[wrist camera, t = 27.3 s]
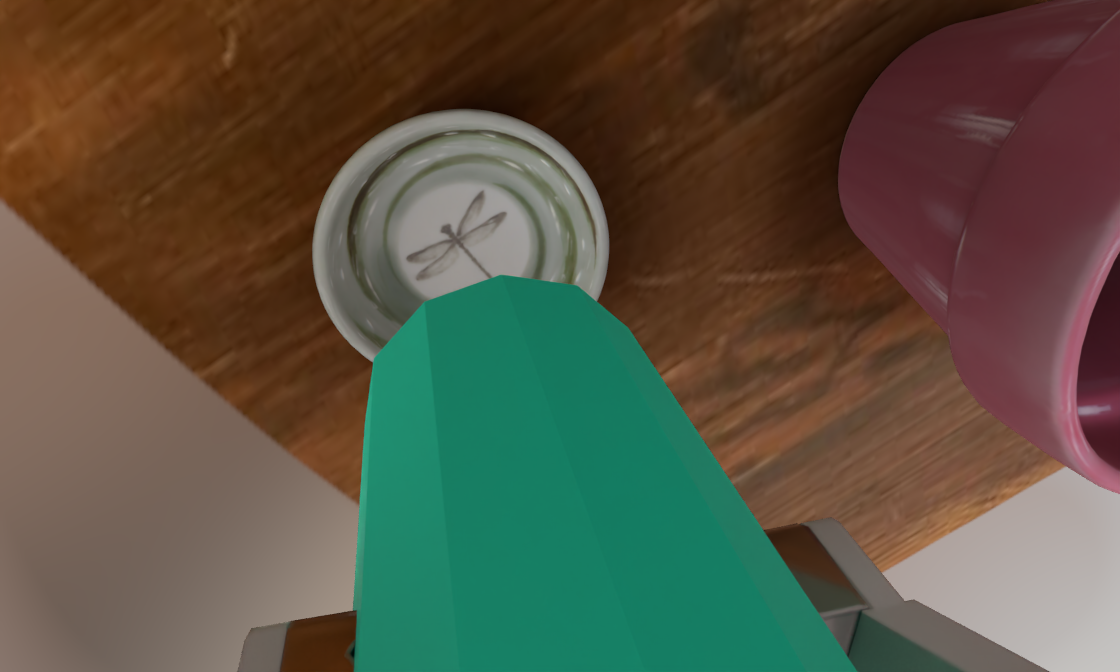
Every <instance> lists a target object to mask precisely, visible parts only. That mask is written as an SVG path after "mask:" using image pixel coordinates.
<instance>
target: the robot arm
mask: <svg viewBox="0 0 1120 672" xmlns="http://www.w3.org/2000/svg"><path fill="white" fill-rule="evenodd" d="M763 531H764V532H765V534H766V535H767V537H768V538H769V540H770V541H771V543H772V544H773V546H774V547H775V549H776V550H777V552H778V553H779V555H780V556H781V558H782V559H783V561H784V562H785V564H786V565H787V567H788V568H789V570H790V571H791V573H792V574H793V576H794V577H795V579H796V580H797V582H798V583H799V585H800V586H801V588H802V589H803V591H804V592H805V594H806V595H807V597H808V598H809V600H810V601H811V603H812V604H813V606H814V607H815V609H816V610H817V612H818V613H819V615H820V616H821V618H822V619H823V621H824V622H825V624H826V625H827V627H828V628H829V630H830V631H831V633H832V634H833V636H834V637H835V639H836V640H837V642H838V643H839V645H840V646H841V648H842V649H843V651H844V652H845V654H846V655H847V657H848V658H849V660H850V661H851V663H852V664H853V666H854V667H855V669H856V670H857V672H1049V671H1047V670H1045V669H1043V668H1042V667H1040V666H1038V665H1036V664H1034V663H1032V662H1030V661H1028V660H1027V659H1025V658H1023V657H1021V656H1019V655H1017V654H1015V653H1013V652H1012V651H1010V650H1008V649H1006V648H1004V647H1002V646H1000V645H998V644H996V643H995V642H993V641H991V640H989V639H987V638H985V637H983V636H982V635H980V634H978V633H976V632H974V631H972V630H970V629H968V628H966V627H965V626H963V625H961V624H959V623H957V622H955V621H953V620H951V619H950V618H948V617H946V616H944V615H942V614H940V613H938V612H936V611H935V610H933V609H931V608H929V607H927V606H925V605H923V604H921V603H919V602H918V601H915V600H909V601H904V600H903V598H902V597H901V596H900V595H899V594H898V592H897V591H896V590H895V589H894V588H893V586H892V585H891V584H890V583H889V581H888V580H887V579H886V578H885V577H884V575H883V574H882V573H881V572H880V571H879V569H878V568H877V567H876V566H875V564H874V563H873V562H872V561H871V560H870V558H869V557H868V556H867V555H866V554H865V552H864V551H863V550H862V549H861V548H860V546H859V545H858V544H857V543H856V542H855V540H854V539H853V538H852V537H851V535H850V534H849V533H848V532H847V531H846V529H845V528H844V527H843V526H842V525H841V523H840V522H839V521H837V520H835V519H834V518H832V517H830V518H825V519H820V520H815V521H810V522H805V523H801V524H797V523H796V524H792V525H787V526H782V527H777V528H772V529H767V530H763ZM356 624H357V610H354V611H348V612H342V613H337V614H330V615H324V616H318V617H312V618H306V619H300V620H295V621H290V622H284V623H279V624H273V625H268V626H262V627H256V628H251V630H250V632H249V634H248V635H247V637H246V639H245V641H244V645H243V650H242V654H241V658H240V663H239V667H238V671H237V672H354V651H355V642H356Z"/></svg>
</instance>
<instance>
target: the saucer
mask: <svg viewBox="0 0 1120 672" xmlns="http://www.w3.org/2000/svg"><path fill="white" fill-rule="evenodd" d="M312 257H313V269H314V276H315V280H316V285H317V289H318V292H319V295H320V298H321V300H322V303H323V305H324V307H325V309H326V311H327V313H328V315H329V317H330V318H331V320H332V322H333V323H334V325H335V326H336V328H337V329H338V330H339V332H340V333H341V334H342V335H343V337H344V338H345V339H346V340H347V341H348V342H349V343H350V344H351V345H352V346H353V347H354V348H355V349H356V350H357V351H358V352H360V353H361V354H362V355H363V356H365V357H366V358H367V359H369V360H370V361H372V362H373V361H374V358H375V356H376V355H377V354H378V353H379V352H380V351H381V350H382V349H383V348H384V346H385V345H386V344H387V343H388V342H389V341H390V340H391V339H392V337H393V336H394V335H395V334H396V333H397V332H398V331H399V330H400V328H401V327H402V326H403V325H404V324H405V323H406V322H407V321H408V319H409V318H410V317H411V316H412V315H413V314H414V313H415V312H416V311H417V309H418V308H419V307H420V306H421V305H422V304H423V303H424V302H425V301H428V300H430V299H433V298H436V297H439V296H442V295H445V294H447V293H450V292H453V291H456V290H459V289H461V288H464V287H467V286H470V285H473V284H476V283H478V282H481V281H484V280H487V279H490V278H492V277H495V276H498V275H501V274H502V275H509V276H516V277H523V278H530V279H537V280H544V281H550V282H557V283H564V284H571V285H577V286H579V287H580V288H581V289H582V290H583V291H585V292H586V293H587V294H588V295H589V296H591V297H592V298H593V299H594V300H595V301H597V300H598V298H599V296H600V294H601V290H602V288H603V285H604V281H605V277H606V273H607V268H608V259H609V232H608V226H607V220H606V216H605V212H604V208H603V205H602V202H601V200H600V197H599V195H598V193H597V190H596V188H595V186H594V184H593V182H592V181H591V179H590V177H589V176H588V174H587V173H586V171H585V170H584V168H583V167H582V166H581V164H580V163H579V162H578V161H577V160H576V158H575V157H574V156H573V155H572V154H571V153H570V152H569V151H568V150H567V149H566V148H565V147H564V146H563V145H561V144H560V143H559V142H558V141H556V140H555V139H554V138H552V137H551V136H549V135H548V134H547V133H545V132H543V131H542V130H540V129H538V128H536V127H535V126H533V125H531V124H529V123H526V122H524V121H522V120H519V119H517V118H514V117H511V116H508V115H504V114H501V113H496V112H491V111H485V110H476V109H450V110H442V111H436V112H430V113H426V114H422V115H418V116H415V117H412V118H409V119H407V120H404V121H402V122H400V123H397V124H395V125H393V126H391V127H389V128H387V129H385V130H384V131H382V132H380V133H379V134H377V135H376V136H374V137H373V138H372V139H370V140H369V141H368V142H366V143H365V144H364V145H363V146H362V147H360V148H359V149H358V150H357V151H356V152H355V153H354V154H353V155H352V156H351V157H350V158H349V159H348V161H347V162H346V163H345V164H344V165H343V166H342V168H341V169H340V170H339V172H338V173H337V175H336V176H335V178H334V179H333V181H332V183H331V184H330V186H329V188H328V190H327V192H326V194H325V196H324V198H323V201H322V203H321V206H320V209H319V212H318V216H317V219H316V224H315V229H314V235H313V246H312Z"/></svg>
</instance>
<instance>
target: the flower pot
mask: <svg viewBox="0 0 1120 672" xmlns="http://www.w3.org/2000/svg"><path fill="white" fill-rule="evenodd" d="M838 191H839V197H840V202H841V207H842V209H843V212H844V215H845V218H846V220H847V222H848V224H849V226H850V228H851V229H852V231H853V232H854V234H855V235H856V236H857V237H858V238H859V239H860V240H861V241H862V243H863V244H864V245H865V246H867V247H868V248H869V249H870V251H871V252H872V253H873V254H874V255H875V256H876V257H877V258H878V259H879V260H880V261H881V262H882V263H883V265H884V266H885V267H886V268H887V269H888V270H889V271H890V272H891V274H892V275H893V276H894V277H895V278H896V279H897V280H898V281H899V282H900V284H901V285H902V286H903V287H904V288H905V289H906V290H907V291H908V292H909V293H910V295H911V296H912V297H913V298H914V299H915V300H916V301H917V302H918V303H919V304H920V305H921V307H922V308H923V309H924V310H925V311H926V312H927V313H928V314H929V315H930V316H931V317H932V319H933V320H934V321H935V322H936V323H937V324H938V325H939V326H940V327H941V328H942V330H943V331H944V332H945V333H946V334H947V335H948V336H949V344H950V349H951V353H952V357H953V360H954V363H955V366H956V368H957V371H958V373H959V375H960V377H961V379H962V381H963V383H964V385H965V386H966V387H967V389H968V390H969V392H970V393H971V394H972V396H973V397H974V398H975V399H976V401H977V402H978V403H979V404H980V405H981V406H982V407H983V408H985V409H986V410H987V411H988V412H989V413H991V414H992V415H993V416H994V417H996V418H997V419H998V420H1000V421H1001V422H1002V423H1004V424H1005V425H1006V426H1008V427H1009V428H1011V429H1012V430H1013V431H1015V432H1016V433H1018V434H1019V435H1021V436H1022V437H1024V438H1025V439H1026V440H1028V441H1029V442H1031V443H1032V444H1034V445H1035V446H1037V447H1038V448H1040V449H1041V450H1042V451H1044V452H1045V453H1047V454H1048V455H1050V456H1051V457H1053V458H1054V459H1056V460H1057V461H1059V462H1060V463H1062V464H1064V465H1065V466H1067V467H1068V468H1070V469H1072V470H1073V471H1075V472H1076V473H1078V474H1079V475H1081V476H1083V477H1084V478H1086V479H1088V480H1089V481H1091V482H1093V483H1094V484H1096V485H1098V486H1100V487H1102V488H1105V489H1107V490H1110V491H1112V492H1115V493H1118V494H1120V0H1053V1H1048V2H1044V3H1040V4H1035V5H1031V6H1027V7H1023V8H1019V9H1015V10H1011V11H1007V12H1003V13H999V14H995V15H991V16H986V17H982V18H978V19H973V20H969V21H964V22H960V23H955V24H952V25H949V26H946V27H944V28H941V29H939V30H937V31H935V32H933V33H931V34H929V35H927V36H925V37H924V38H922V39H920V40H919V41H917V42H916V43H914V44H913V45H911V46H910V47H909V48H907V49H906V50H905V51H903V52H902V53H901V54H900V55H899V56H898V57H897V58H896V59H895V60H894V61H893V62H892V63H891V64H890V65H889V66H888V67H887V68H886V69H885V70H884V71H883V72H882V73H881V75H880V76H879V77H878V78H877V79H876V81H875V82H874V83H873V85H872V86H871V88H870V89H869V90H868V92H867V93H866V95H865V96H864V98H863V100H862V101H861V103H860V105H859V106H858V108H857V110H856V112H855V114H854V116H853V118H852V121H851V123H850V125H849V128H848V130H847V133H846V136H845V140H844V143H843V146H842V150H841V154H840V161H839V171H838Z"/></svg>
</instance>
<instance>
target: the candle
mask: <svg viewBox="0 0 1120 672" xmlns="http://www.w3.org/2000/svg"><path fill="white" fill-rule="evenodd" d="M358 524H359V525H358V540H357V554H356V571H355V586H354V601H353V611H354V610H357V624H356V642H355V651H354V672H857V670H856V669H855V667H854V666H853V664H852V663H851V661H850V660H849V658H848V657H847V655H846V654H845V652H844V651H843V649H842V648H841V646H840V645H839V643H838V642H837V640H836V639H835V637H834V636H833V634H832V633H831V631H830V630H829V628H828V627H827V625H826V624H825V622H824V621H823V619H822V618H821V616H820V615H819V613H818V612H817V610H816V609H815V607H814V606H813V604H812V603H811V601H810V600H809V598H808V597H807V595H806V594H805V592H804V591H803V589H802V588H801V586H800V585H799V583H798V582H797V580H796V579H795V577H794V576H793V574H792V573H791V571H790V570H789V568H788V567H787V565H786V564H785V562H784V561H783V559H782V558H781V556H780V555H779V553H778V552H777V550H776V549H775V547H774V546H773V544H772V543H771V541H770V540H769V538H768V537H767V535H766V534H765V532H764V531H763V529H762V528H761V526H760V525H759V523H758V522H757V520H756V519H755V517H754V516H753V514H752V513H751V511H750V510H749V508H748V507H747V505H746V504H745V502H744V501H743V499H742V498H741V496H740V495H739V493H738V492H737V490H736V489H735V487H734V486H733V484H732V483H731V481H730V480H729V478H728V477H727V475H726V474H725V472H724V471H723V469H722V468H721V466H720V465H719V463H718V462H717V460H716V459H715V457H714V456H713V454H712V453H711V451H710V450H709V448H708V447H707V445H706V444H705V442H704V441H703V439H702V438H701V436H700V435H699V433H698V432H697V430H696V429H695V427H694V426H693V424H692V423H691V421H690V420H689V418H688V417H687V415H686V414H685V412H684V411H683V409H682V408H681V406H680V405H679V403H678V402H677V400H676V399H675V397H674V396H673V394H672V393H671V391H670V390H669V388H668V387H667V385H666V384H665V382H664V381H663V379H662V378H661V376H660V375H659V373H658V372H657V370H656V369H655V367H654V366H653V364H652V363H651V361H650V360H649V358H648V357H647V355H646V354H645V352H644V351H643V349H642V348H641V346H640V345H639V343H638V342H637V340H636V339H635V337H634V336H633V334H632V333H631V331H630V330H629V328H628V327H627V326H626V325H624V324H623V323H622V322H621V321H620V320H618V319H617V318H616V317H615V316H613V315H612V314H611V313H610V312H609V311H607V310H606V309H605V308H604V307H603V306H601V305H600V304H599V303H598V302H597V301H595V300H594V299H593V298H592V297H591V296H589V295H588V294H587V293H586V292H585V291H583V290H582V289H581V288H580V287H579V286H577V285H571V284H564V283H557V282H550V281H544V280H537V279H530V278H523V277H516V276H509V275H502V274H501V275H498V276H495V277H492V278H490V279H487V280H484V281H481V282H478V283H476V284H473V285H470V286H467V287H464V288H461V289H459V290H456V291H453V292H450V293H447V294H445V295H442V296H439V297H436V298H433V299H430V300H428V301H425V302H424V303H423V304H422V305H421V306H420V307H419V308H418V309H417V311H416V312H415V313H414V314H413V315H412V316H411V317H410V318H409V319H408V321H407V322H406V323H405V324H404V325H403V326H402V327H401V328H400V330H399V331H398V332H397V333H396V334H395V335H394V336H393V337H392V339H391V340H390V341H389V342H388V343H387V344H386V345H385V346H384V348H383V349H382V350H381V351H380V352H379V353H378V354H377V355H376V356H375V358H374V361H373V369H372V376H371V383H370V390H369V397H368V404H367V412H366V419H365V429H364V445H363V461H362V476H361V492H360V507H359V523H358Z"/></svg>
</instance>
